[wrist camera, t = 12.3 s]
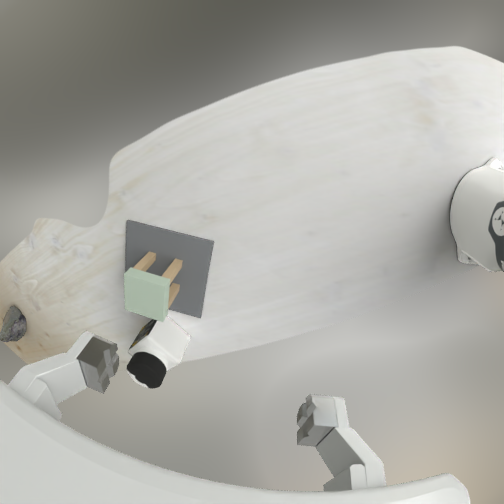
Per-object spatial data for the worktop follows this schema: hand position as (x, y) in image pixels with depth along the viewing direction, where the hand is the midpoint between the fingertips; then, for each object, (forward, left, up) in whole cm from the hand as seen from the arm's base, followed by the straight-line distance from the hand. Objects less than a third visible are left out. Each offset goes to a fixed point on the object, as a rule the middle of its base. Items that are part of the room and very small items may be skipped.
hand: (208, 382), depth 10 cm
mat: (+12, +14, -29) cm, 34 cm away
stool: (+12, +14, -29) cm, 34 cm away
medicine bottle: (+11, +27, -29) cm, 41 cm away
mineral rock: (+60, +46, -29) cm, 81 cm away
